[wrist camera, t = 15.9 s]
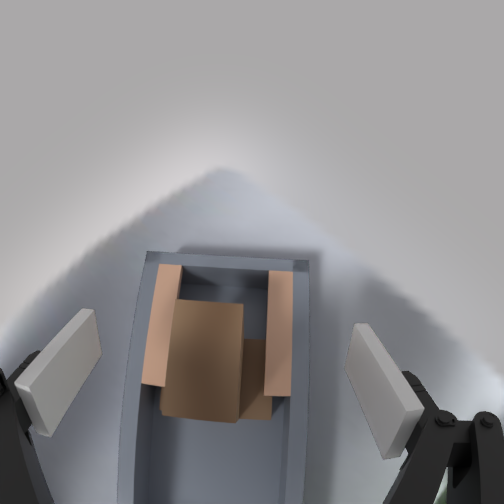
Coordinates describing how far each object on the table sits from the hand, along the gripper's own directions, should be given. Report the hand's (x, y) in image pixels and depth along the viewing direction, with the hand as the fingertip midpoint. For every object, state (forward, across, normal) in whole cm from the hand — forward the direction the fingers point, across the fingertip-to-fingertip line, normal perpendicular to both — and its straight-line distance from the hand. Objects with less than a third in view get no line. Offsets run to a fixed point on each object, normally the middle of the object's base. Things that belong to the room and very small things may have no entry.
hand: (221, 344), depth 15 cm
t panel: (+7, 0, -7) cm, 10 cm away
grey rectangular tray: (+5, 0, -10) cm, 11 cm away
